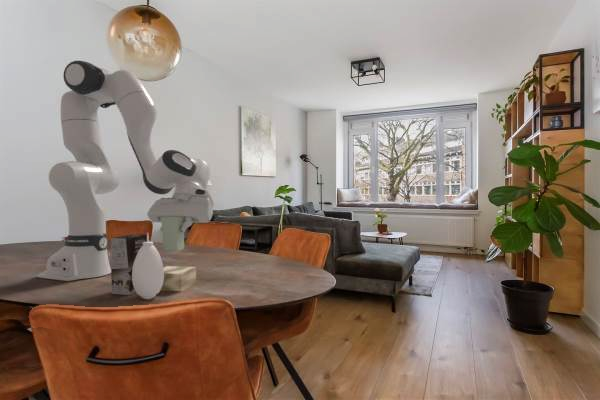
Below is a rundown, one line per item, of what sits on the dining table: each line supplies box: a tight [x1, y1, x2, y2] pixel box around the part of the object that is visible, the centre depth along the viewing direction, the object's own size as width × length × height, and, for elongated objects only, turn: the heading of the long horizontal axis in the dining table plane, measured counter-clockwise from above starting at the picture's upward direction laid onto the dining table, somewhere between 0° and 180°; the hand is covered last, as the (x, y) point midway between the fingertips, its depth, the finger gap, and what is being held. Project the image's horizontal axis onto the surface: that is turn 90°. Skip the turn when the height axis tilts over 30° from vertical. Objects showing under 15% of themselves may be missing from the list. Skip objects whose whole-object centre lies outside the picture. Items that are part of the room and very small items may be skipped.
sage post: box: [162, 217, 185, 252], centre depth 107 cm, size 4×4×10 cm
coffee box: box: [110, 233, 147, 296], centre depth 102 cm, size 9×6×16 cm
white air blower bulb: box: [132, 232, 164, 300], centre depth 94 cm, size 8×8×18 cm
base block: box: [160, 265, 197, 292], centre depth 107 cm, size 10×10×5 cm
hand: (172, 230), depth 106 cm, fingers closed on sage post, 4 cm apart
